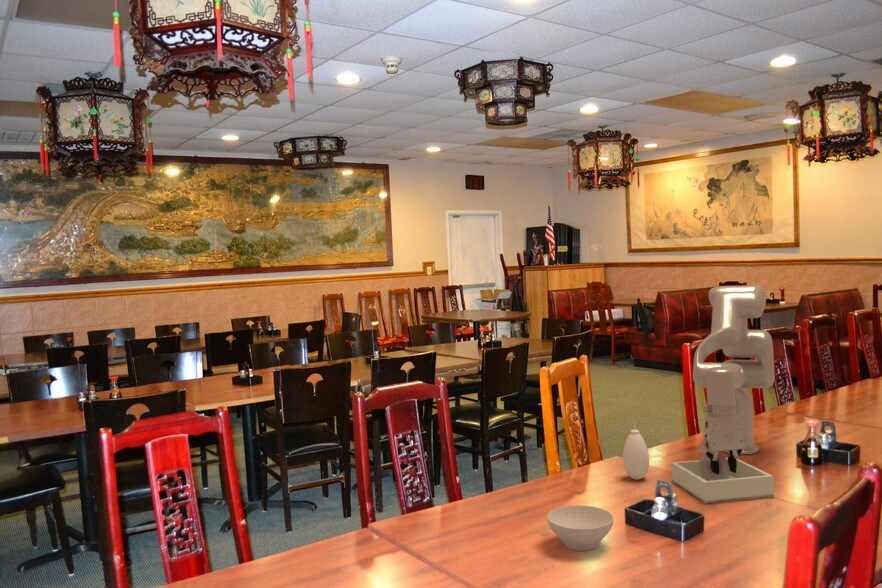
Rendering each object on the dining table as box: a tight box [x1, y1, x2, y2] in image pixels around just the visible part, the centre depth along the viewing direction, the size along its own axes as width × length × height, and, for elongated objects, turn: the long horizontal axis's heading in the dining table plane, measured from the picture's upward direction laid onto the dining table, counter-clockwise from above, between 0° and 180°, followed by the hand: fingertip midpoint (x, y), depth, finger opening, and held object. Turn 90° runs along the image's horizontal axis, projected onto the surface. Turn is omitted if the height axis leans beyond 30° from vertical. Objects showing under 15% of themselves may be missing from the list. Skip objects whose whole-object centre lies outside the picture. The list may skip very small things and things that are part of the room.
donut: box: [699, 452, 730, 481], centre depth 207 cm, size 10×4×10 cm, turn 30°
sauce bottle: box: [622, 421, 650, 481], centre depth 219 cm, size 8×8×18 cm
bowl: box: [546, 504, 615, 552], centre depth 171 cm, size 16×16×7 cm
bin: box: [670, 456, 775, 505], centre depth 205 cm, size 20×20×6 cm
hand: (723, 471), depth 203 cm, fingers open, 4 cm apart
